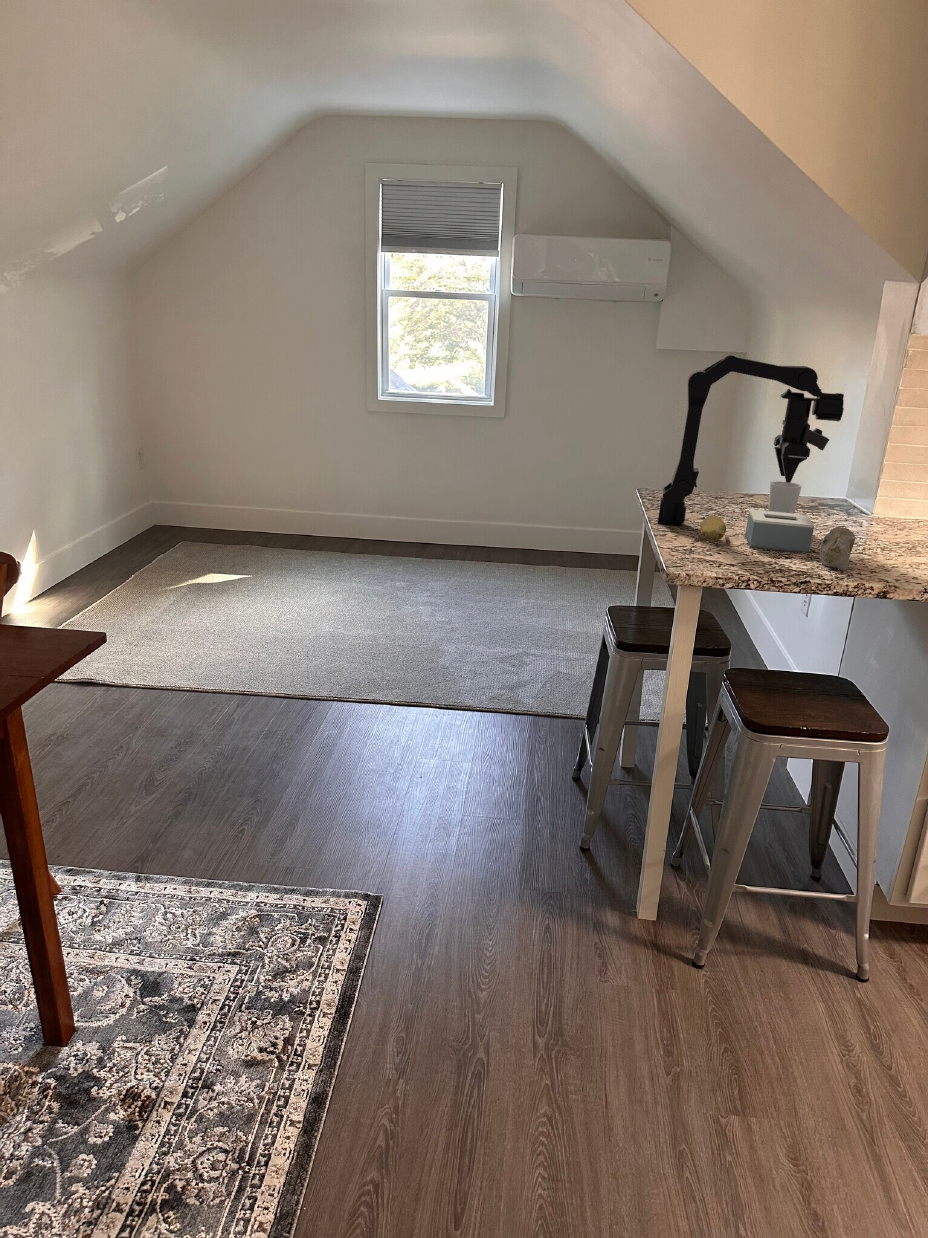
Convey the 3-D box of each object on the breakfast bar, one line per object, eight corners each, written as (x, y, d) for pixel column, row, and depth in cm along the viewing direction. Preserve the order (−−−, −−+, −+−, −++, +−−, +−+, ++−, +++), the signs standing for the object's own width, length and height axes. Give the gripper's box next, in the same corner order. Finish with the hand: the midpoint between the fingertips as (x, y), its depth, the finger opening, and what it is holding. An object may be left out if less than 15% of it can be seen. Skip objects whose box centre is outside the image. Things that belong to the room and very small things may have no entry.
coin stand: (694, 540, 227) (695, 537, 227) (693, 535, 231) (694, 532, 231) (729, 544, 226) (730, 540, 225) (728, 539, 230) (728, 536, 230)
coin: (699, 539, 228) (702, 516, 226) (699, 537, 230) (702, 514, 228) (724, 542, 227) (727, 518, 225) (723, 540, 229) (726, 516, 227)
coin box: (749, 547, 223) (754, 519, 221) (744, 535, 235) (749, 509, 232) (809, 553, 221) (814, 525, 219) (801, 541, 232) (806, 514, 230)
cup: (795, 533, 241) (803, 488, 237) (764, 530, 242) (772, 485, 238) (791, 526, 248) (799, 482, 244) (761, 523, 249) (768, 480, 245)
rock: (816, 550, 220) (830, 515, 213) (844, 557, 218) (859, 523, 212) (812, 577, 211) (826, 542, 204) (841, 585, 209) (856, 550, 203)
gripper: (837, 425, 219) (824, 489, 224) (823, 416, 236) (811, 475, 242) (789, 421, 221) (778, 484, 226) (778, 412, 238) (768, 471, 243)
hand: (785, 479), depth 234 cm, fingers open, 9 cm apart
